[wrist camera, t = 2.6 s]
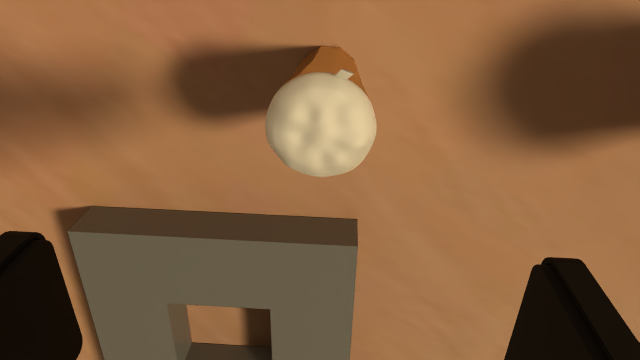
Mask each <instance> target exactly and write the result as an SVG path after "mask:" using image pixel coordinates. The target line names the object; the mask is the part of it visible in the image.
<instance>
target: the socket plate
mask: <svg viewBox="0 0 640 360" xmlns="http://www.w3.org/2000/svg"><path fill="white" fill-rule="evenodd" d="M67 232H68V235H69V239H70V242H71V246H72V249H73V253H74V256H75V259H76V263H77V266H78V270H79V273H80V277H81V280H82V284H83V287H84V291H85V294H86V298H87V301H88V304H89V308H90V311H91V315H92V318H93V322H94V325H95V329H96V332H97V336H98V339H99V343H100V346H101V350H102V353H103V356H104V360H350V348H351V334H352V320H353V306H354V292H355V278H356V264H357V250H358V234H357V219H340V218H320V217H299V216H279V215H259V214H239V213H219V212H198V211H178V210H158V209H138V208H118V207H97V206H91V207H90V208H89V209H88V210H87V211H86V212H85V213H84V214H83V215H82V217H81V218H80V219H79V220H78V221H77V222H76V223H75V224H74V225H73V226H72V227H71V228H70V229H69V230H68V231H67ZM186 304H187V305H204V306H221V307H238V308H255V309H270V318H271V342H272V348H268V347H252V346H236V345H220V344H204V343H192V341H191V334H190V328H189V321H188V315H187V309H186Z"/></svg>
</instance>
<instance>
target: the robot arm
mask: <svg viewBox="0 0 640 360" xmlns="http://www.w3.org/2000/svg"><path fill="white" fill-rule="evenodd" d="M81 348H82V334H81V331H80V328H79V325H78V322H77V319H76V316H75V313H74V310H73V307H72V303H71V300H70V297H69V294H68V291H67V288H66V285H65V282H64V279H63V275H62V272H61V269H60V266H59V263H58V260H57V257H56V254H55V251H54V248H53V245H52V243H51V242H50V241H47V240H45V238H44V236H43V235H42V234H41V233H37V232H18V231H8V232H5V233H3V234H2V235H0V360H76V359H77V357H78V355H79V354H80V351H81ZM504 360H640V343H639V341H638V340H637V339H636V338H635V336H634V335H633V333H632V332H631V330H630V329H629V327H628V326H627V325H626V323H625V322H624V320H623V319H622V317H621V316H620V314H619V313H618V312H617V310H616V309H615V307H614V306H613V304H612V303H611V301H610V300H609V299H608V297H607V296H606V294H605V293H604V291H603V290H602V288H601V287H600V286H599V284H598V283H597V281H596V280H595V278H594V277H593V275H592V274H591V273H590V271H589V270H588V268H587V267H586V265H585V264H584V263H583V262H582V261H581V260H579V259H573V258H552V257H548V258H545V259H544V260H543V261H542V264H541V265H535V266H534V267H533V268H532V271H531V274H530V277H529V280H528V284H527V287H526V290H525V293H524V297H523V300H522V303H521V306H520V310H519V313H518V316H517V319H516V323H515V326H514V329H513V332H512V336H511V339H510V342H509V346H508V349H507V352H506V355H505V359H504Z"/></svg>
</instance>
